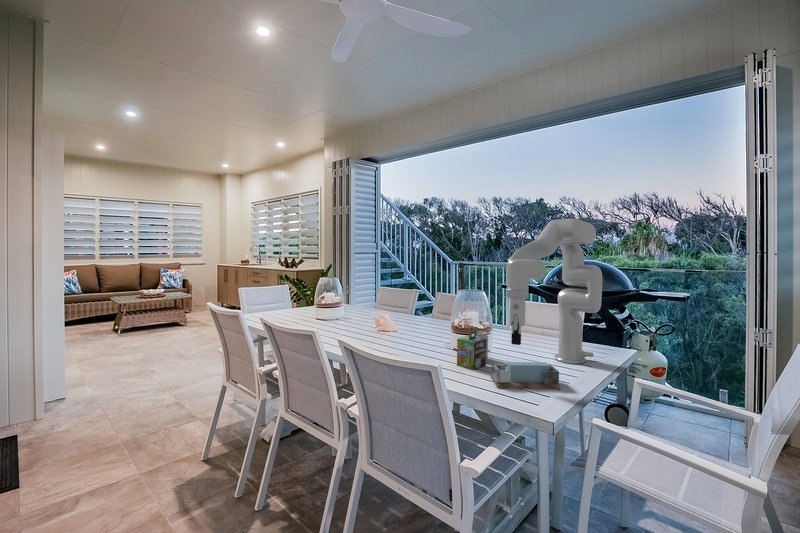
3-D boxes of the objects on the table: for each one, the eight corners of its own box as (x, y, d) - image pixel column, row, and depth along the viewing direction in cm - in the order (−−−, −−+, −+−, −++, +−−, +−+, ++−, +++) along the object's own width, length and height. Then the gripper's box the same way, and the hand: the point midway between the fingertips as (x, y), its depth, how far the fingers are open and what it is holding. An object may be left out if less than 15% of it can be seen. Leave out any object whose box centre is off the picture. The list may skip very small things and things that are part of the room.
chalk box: (468, 361, 173) (469, 327, 172) (486, 365, 167) (487, 330, 166) (455, 365, 167) (456, 330, 166) (474, 370, 160) (474, 334, 159)
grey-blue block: (545, 378, 147) (545, 362, 147) (549, 382, 143) (549, 365, 143) (507, 377, 147) (507, 361, 147) (510, 381, 143) (510, 365, 143)
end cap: (504, 375, 150) (505, 364, 149) (510, 382, 141) (510, 371, 141) (491, 374, 150) (491, 364, 149) (496, 382, 141) (496, 371, 141)
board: (549, 378, 150) (549, 363, 150) (560, 389, 139) (560, 373, 139) (490, 377, 151) (491, 362, 151) (497, 388, 140) (497, 372, 140)
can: (486, 356, 180) (487, 330, 179) (488, 361, 172) (489, 334, 172) (469, 356, 181) (470, 330, 180) (471, 360, 173) (471, 333, 172)
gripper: (527, 296, 135) (525, 350, 136) (529, 292, 149) (528, 340, 150) (504, 295, 138) (503, 347, 139) (508, 291, 152) (507, 338, 153)
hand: (516, 344), depth 144 cm, fingers closed
